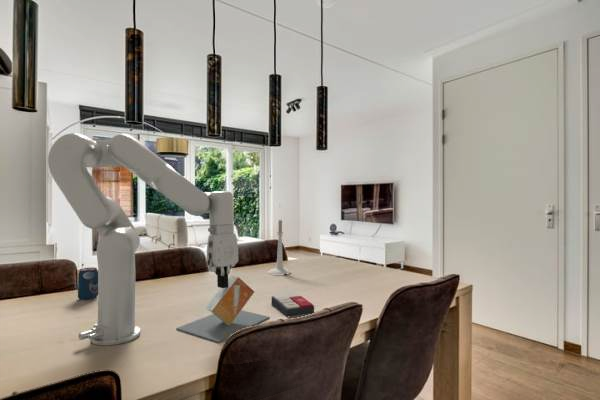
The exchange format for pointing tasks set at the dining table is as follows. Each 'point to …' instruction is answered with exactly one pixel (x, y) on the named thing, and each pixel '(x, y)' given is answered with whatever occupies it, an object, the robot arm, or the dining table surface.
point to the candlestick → (279, 255)
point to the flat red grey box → (292, 304)
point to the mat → (221, 326)
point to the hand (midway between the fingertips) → (222, 287)
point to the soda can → (87, 284)
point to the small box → (230, 300)
